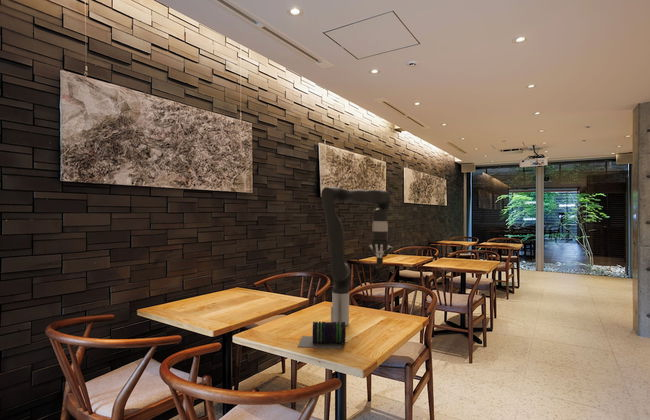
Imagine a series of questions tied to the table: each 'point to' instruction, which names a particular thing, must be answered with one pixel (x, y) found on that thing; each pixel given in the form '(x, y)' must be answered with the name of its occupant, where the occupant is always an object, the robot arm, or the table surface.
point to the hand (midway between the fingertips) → (379, 265)
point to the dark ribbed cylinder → (329, 332)
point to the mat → (308, 342)
